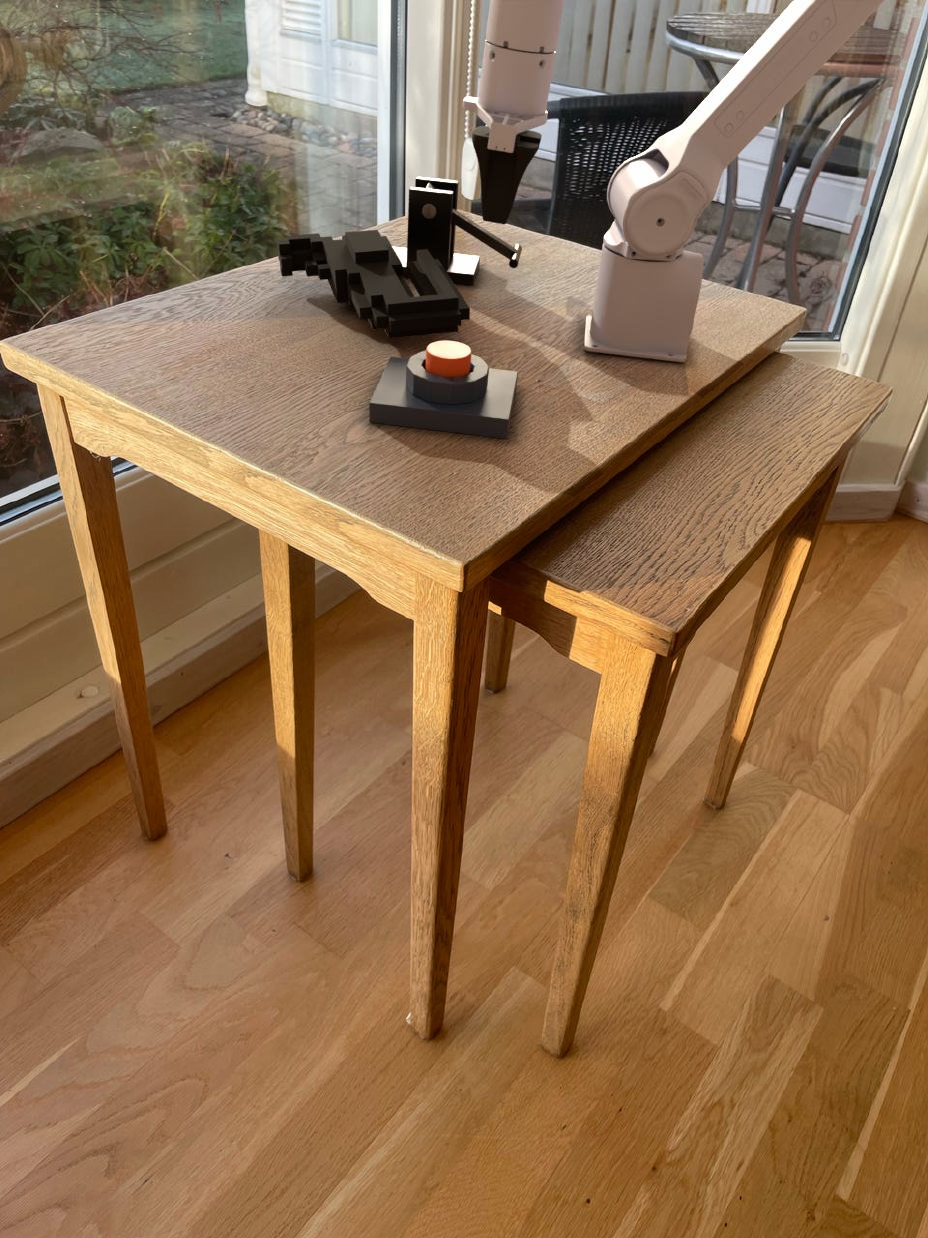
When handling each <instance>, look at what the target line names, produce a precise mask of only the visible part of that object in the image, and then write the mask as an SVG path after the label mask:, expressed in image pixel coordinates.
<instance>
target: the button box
mask: <svg viewBox="0 0 928 1238" xmlns="http://www.w3.org/2000/svg"><path fill="white" fill-rule="evenodd" d="M518 376H519V371H516V370H508V369H507V370H506V369H499V368H491V367H490V365H489V364H488V363H487V362H485V360H484V359H483V358H482V357H480V356H477V355H476V354H473V353H471V366H470V373H469V374H468V375H466V376H462V377H453V378H450V377H442V376H436V375H434V374H431V373H429V372H427V371H426V350H422V351H420V352H418V353H415V354H413V355H411V356H410V357H409V358H407V357H406V358H405V357H399V356H398V357H397V356H389V359H388V361H387V363H386V365H385V368H384V370H383V372H382V374H381V376H380V379H379V380H378V383H377V385H376V387H375V389H374V392H373V394H372V396H371V398H370V401H369V406H368V407H369V408H368V409H369V410H368V411H369V412H368V413H369V414H368V415H369V416H368V417H369V418H368V421H369V423H373V424H381V425H390V426H396V427H397V426H399V427H406V428H412V429H413V428H414V429H421V430H431V431H438V432H439V431H440V432H447V433H456V434H463V435H470V436H471V435H472V436H479V437H486V438H487V437H489V438H497V439H503V440H507V439H508V434H509V430H510V426H511V425H510V423H511V419H512V414H513V409H514V404H515V398H516V394H517V385H518Z"/></svg>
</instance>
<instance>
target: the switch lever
mask: <svg viewBox="0 0 928 1238" xmlns="http://www.w3.org/2000/svg"><path fill="white" fill-rule="evenodd" d="M426 188H427V189H436V190H439V189H438V188H436V187H435V186H433V185H432V184H430V183H428V185H427V186H426ZM452 223H453V224H455V225H456V227H458V228H459V229H461V230H463V232H465V233H467V234H469V235H470V236H471V237H473V238H475V239H477V240H478V241H480V242H481V243H483V244H485V246H488V247H489V248H490V249H492V250H494V251H495V252H497V253H498V254H500V255H502V256H503V257H504V258H506V259H508V260H509V262H508V266H509V267H510V268H511V269H516V268H518V267H519V263H520V258H521V254H522V251H523V248H522V245H521V244H518V243H516V244H514V245H513V246H512V244H509V243H507V242H506V241H504V240H503V239H501V238H500V237H499V236H497V235H495V234H493V232H490V231H489V230H488V229H486V228H484V227H483V226H481V225H480V224H478V223H476V222H475V221H473V220H472V219H470V218H469V217H468V216H466V215H464V214H462V213H461V212H459V211H458V210H457V211H456V210H455V209H453V210H452Z"/></svg>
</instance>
